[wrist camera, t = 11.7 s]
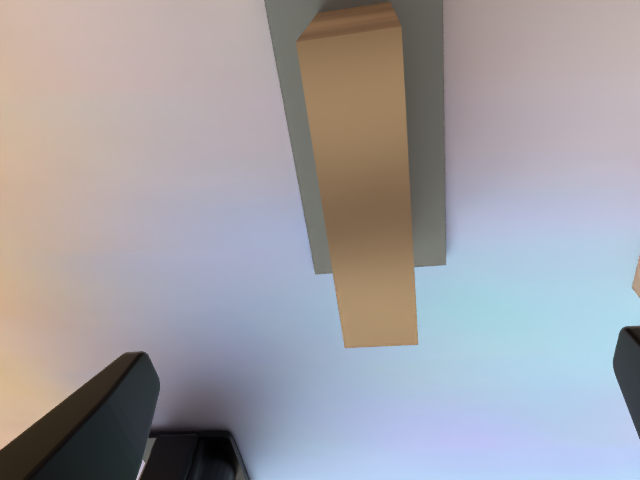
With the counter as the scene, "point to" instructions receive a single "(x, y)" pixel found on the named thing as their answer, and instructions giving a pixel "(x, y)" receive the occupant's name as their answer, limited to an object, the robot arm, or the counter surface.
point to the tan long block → (363, 168)
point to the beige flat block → (637, 280)
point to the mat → (421, 116)
